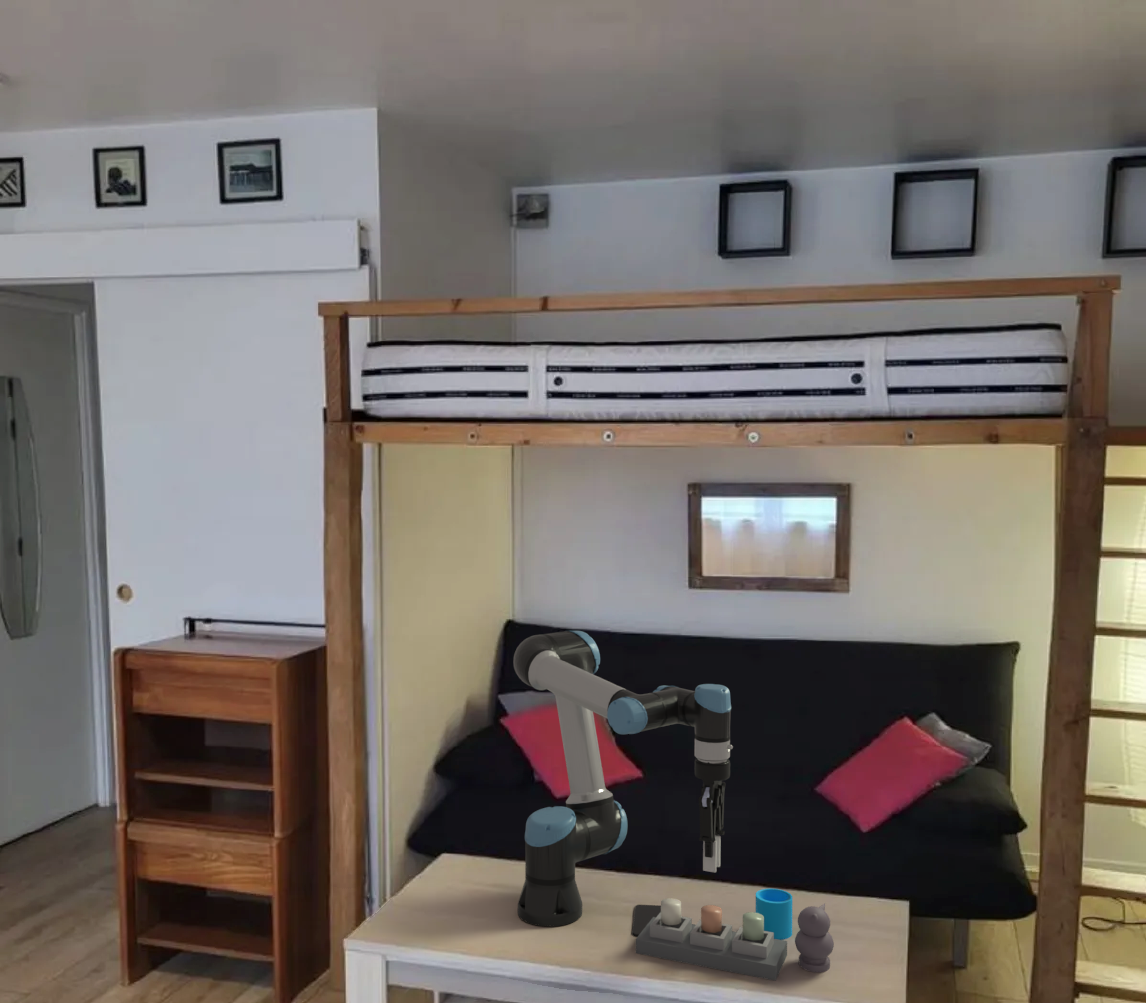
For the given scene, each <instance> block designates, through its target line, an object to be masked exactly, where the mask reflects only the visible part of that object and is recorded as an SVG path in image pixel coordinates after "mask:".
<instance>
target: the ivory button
mask: <svg viewBox="0 0 1146 1003" xmlns="http://www.w3.org/2000/svg"><path fill="white" fill-rule="evenodd" d="M660 906H661V922H662V923H664V924H666V925H677V924H680V923H681V916H682V901H681V900H679V899H677V898H672V897H670V898H669V897H667V898H663V899H662V900H660Z"/></svg>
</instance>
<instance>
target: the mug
mask: <svg viewBox="0 0 1146 1003" xmlns="http://www.w3.org/2000/svg"><path fill="white" fill-rule="evenodd" d="M755 913H759V914H761V915H763V916H764V931H768V932H773V933H774V939H778V940H787V939H790V938H791V937H792V936H793V895H792V894H791V893H789V892H788V891H786V890H783V889H779V888H762V889H759V890H757V891H756V892H755Z"/></svg>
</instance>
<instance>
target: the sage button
mask: <svg viewBox="0 0 1146 1003" xmlns="http://www.w3.org/2000/svg"><path fill="white" fill-rule="evenodd" d="M742 927H743V937H744V938H746V939H749V940H761V939H763V938H764V916H763V915H761V914H759V913H756V911H754V912H753V911H752V912H751V911H750V912H745V913H743V914H742Z"/></svg>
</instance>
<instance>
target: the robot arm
mask: <svg viewBox="0 0 1146 1003" xmlns="http://www.w3.org/2000/svg"><path fill="white" fill-rule="evenodd" d="M600 664H601V654H600V650H599V647H598V645H597V643H596V641H595V640H594V639H593V638H592V636H590V635H589V634H588V633H587V632H585V631H581V630H565V631H564V630H563V631H559V632H550V633H543V634H535V635H531V636H529V637H527V638H525V639H523V641H521V642H520V643H519V645H518V646H517V647H516V650H515V652H514V654H513V669H514V672H515V674H516V675H517V677H518V679H519V680H521V682H523V683H524V684H526V685H527V686H529V687H531V688H533V689H535V690H538V691H545V690H548V691H549V692H550V693H552V694H553V695H554V696H555V702H556V708H557V714H558V719H559V720H558V721H559V727H560V733H561V740H562V745H563V753H564V760H565V765H566V772H567V778H568V785H569V792H570V793H569V796H568V798H567V799H566V800H565V805H566V806H559V805H554V806H553V807H552V806H547V807H544V808H540V809H538V810H536V811H534V812H532V813H531V814H530V815H529V816H528V817H527V820H526V823H525V832H524V842H525V846H524V847H525V858H524V859H525V861H524V862H525V865H524V866H525V874H524V875H525V876H524V877H525V880H524V883H523V886H522V890H521V892H520V894H519V898H518V901H517V915H518V918H519V919H521V920H522V921H523V922H526V923H528V924H530V925H534V926H539V927H560V926H566V925H570V924H572V923H575V922H576V921H577V920H579V919H580V918H581V917H582V915H583V900H582V897H581V894H580V891H579V888H578V885H577V882H576V863H579V862H582V861H585V860H588V859H591V858H595V857H597V856H600V855H607V854H609V853H610V852H612V851H614V850H617V849H619V848H620V847H621V846H622V844H623V842H624V841H625V839H626V837H627V834H628V818H627V817H628V816H627V814H626V812H625V811H626V810H625V809H624V808H622V805H621V803H619V802H618V801H617V800H615V799H614V795H613V793H612V791H609V790H608V789H607V788H606V785H605V777H604V772H603V771H604V770H603V767H602V766H603V765H602V760H601V753H600V748H599V747H600V746H599V742H598V735H597V730H596V729H597V728H596V723H595V716H594V713H595V714H597V715H599V716H601V717H603V718H605V719H607V721H608V722H607V723H608V724H609V727H611V728H612V730H613V731H614V732H615V733H617V734H618V735H628V734H629V735H634V734H635V735H636V734H638V733H640V732H645V731H649V730H653V729H658V728H661V727H662V728H663V727H666V726H670V725H671V726H672V725H677V724H680V725H684V726H688V727H691V728H694V757H695V759H694V776H695V777H696V778H697V779H699V780H700V779H701V780H702V782H703V783H702V786H701V787H700V794H701V796H698V807H699V837H698V840H699V841H702V842H703V844H702V849H703V850H702V871H703V872H704V871H705V872H710V873H717V868H721V838H722V837H721V836H725V833H726V832H725V830H723V829H724V816H725V815H724V813H725V792H726V791H725V789H726V782H725V781H726V780H728V779H730V777H731V760H730V759H729V758H730V757H731V750H733V748H734V746H733V745H732V744H731V717H732V716H731V712H732V704H731V702H732V701H731V692H730V689H729V688H728V687H727V686H725V685H723V684H719V683H718V684H715V683H703V684H699V685H697V686H696V687H695V690H691V689H686V688H681V687H679V686H676V685H659V686H658V687H657V688H656V689H654V690H653V691H652V692H649V693H643V694H638V693H635V692H633V691H630V690H629V689H627V688H624V687H622V686H620V685H617V684H615V683H614V682H611V681H608V680H607V679H604V678H602V677H600V676H597V675H595V674H596V673H597V671H598V669H600V668H599V665H600Z"/></svg>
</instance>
